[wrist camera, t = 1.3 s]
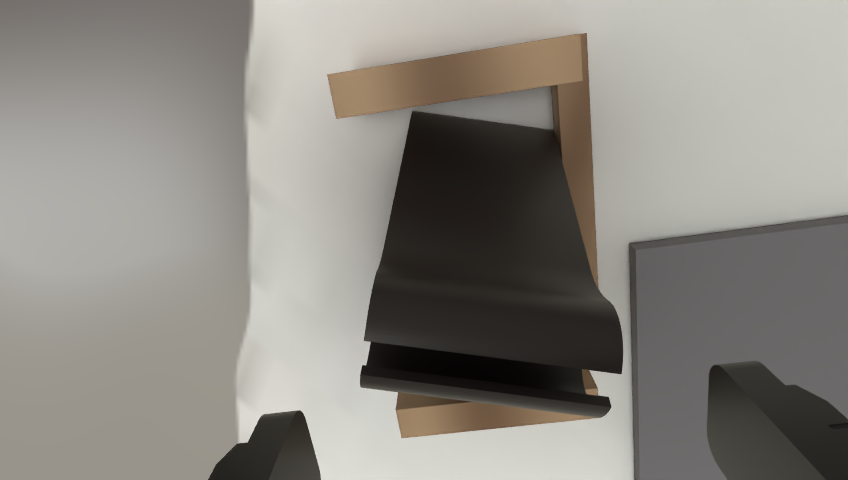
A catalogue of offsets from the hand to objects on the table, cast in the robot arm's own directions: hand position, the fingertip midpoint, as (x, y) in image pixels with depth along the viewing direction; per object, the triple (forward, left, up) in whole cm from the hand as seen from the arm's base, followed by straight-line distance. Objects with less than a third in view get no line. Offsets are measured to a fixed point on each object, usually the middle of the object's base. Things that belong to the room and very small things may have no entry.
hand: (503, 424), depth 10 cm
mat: (-15, +10, -14) cm, 23 cm away
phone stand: (0, 0, -14) cm, 14 cm away
